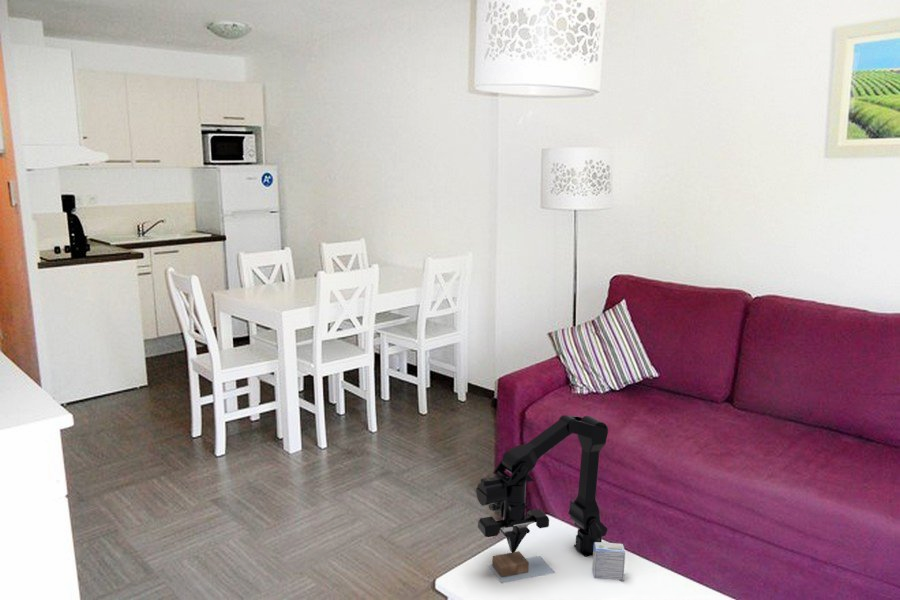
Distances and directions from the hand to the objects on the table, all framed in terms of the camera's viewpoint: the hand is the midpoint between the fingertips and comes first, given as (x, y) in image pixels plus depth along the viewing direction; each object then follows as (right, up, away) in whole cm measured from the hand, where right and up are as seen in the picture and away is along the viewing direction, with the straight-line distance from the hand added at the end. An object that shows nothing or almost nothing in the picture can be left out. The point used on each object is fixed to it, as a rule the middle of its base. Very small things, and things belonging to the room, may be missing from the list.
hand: (512, 551), depth 188 cm
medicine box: (+26, -7, -1) cm, 26 cm away
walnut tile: (+3, -3, +2) cm, 5 cm away
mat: (+2, -5, +1) cm, 6 cm away
